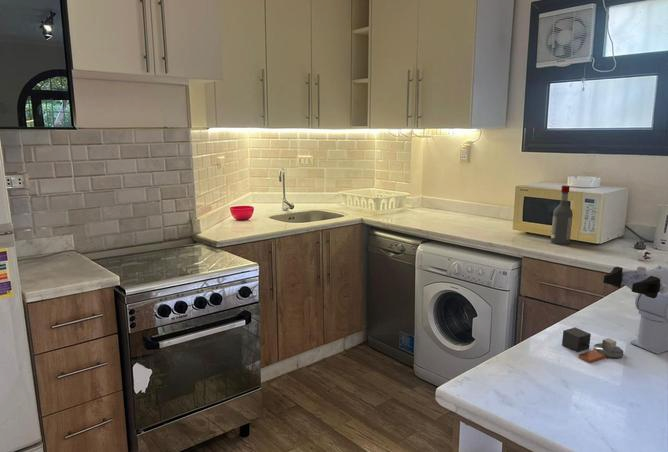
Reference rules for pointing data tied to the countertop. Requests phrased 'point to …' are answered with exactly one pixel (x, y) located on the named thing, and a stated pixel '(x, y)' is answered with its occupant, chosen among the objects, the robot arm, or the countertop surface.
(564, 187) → the liquor
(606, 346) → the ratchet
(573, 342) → the dark grey cube
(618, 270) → the robot arm
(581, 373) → the countertop surface
